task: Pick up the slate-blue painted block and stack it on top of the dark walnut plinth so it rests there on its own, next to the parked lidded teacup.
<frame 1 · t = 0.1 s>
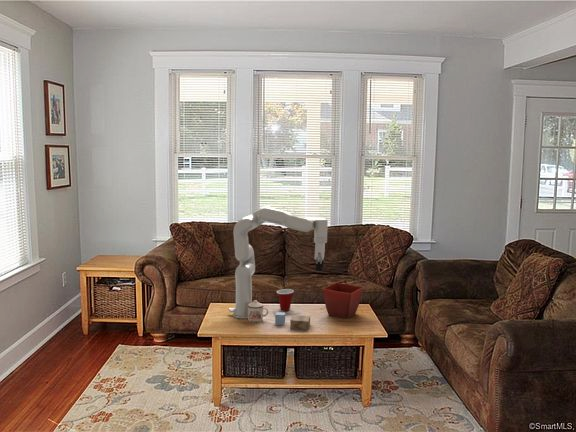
hand: (319, 268, 312), 31 cm above the table, fingers open, 9 cm apart
plastic cup: (284, 309, 337), on the table
plant pot: (341, 315, 329), on the table
teacup with lid: (257, 320, 315), on the table
walnut plinth: (300, 326, 304), on the table
slate block: (280, 323, 309), on the table
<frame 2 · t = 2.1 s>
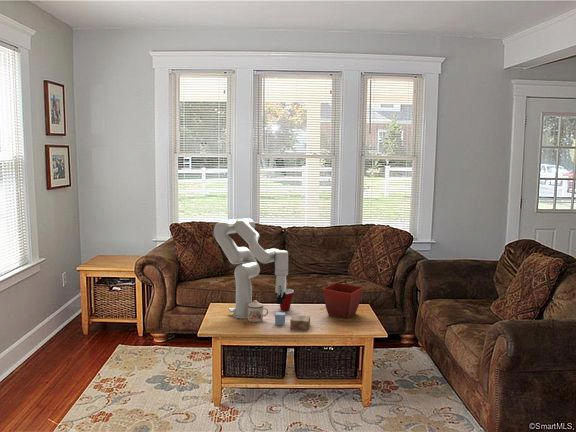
hand: (281, 301, 307), 13 cm above the table, fingers open, 9 cm apart
nothing on the table moved.
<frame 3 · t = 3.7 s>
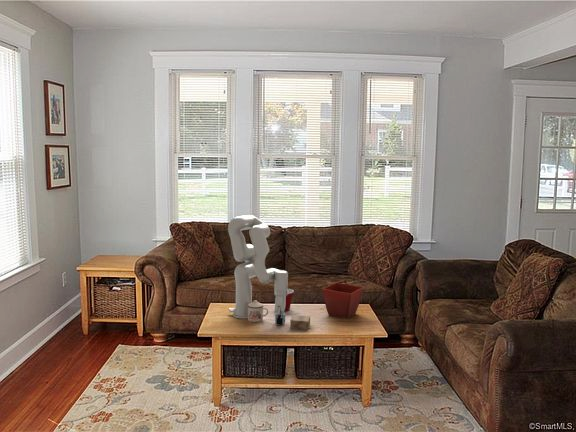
hand: (280, 322, 309), 0 cm above the table, fingers closed on slate block, 5 cm apart
slate block: (280, 323, 309), on the table, touching gripper
everything else where it was.
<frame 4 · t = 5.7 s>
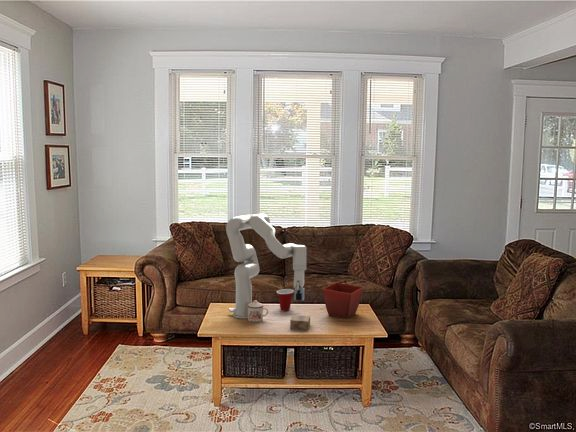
hand: (299, 298, 302), 16 cm above the table, fingers closed on slate block, 5 cm apart
slate block: (299, 299, 302), point 16 cm above the table, touching gripper
everything else where it was.
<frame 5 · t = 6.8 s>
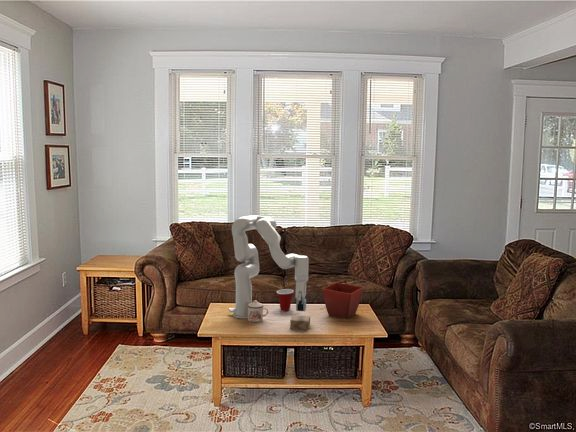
hand: (301, 309, 303), 10 cm above the table, fingers closed on slate block, 5 cm apart
slate block: (301, 309, 303), point 10 cm above the table, touching gripper
everything else where it was.
when the fingers open (7 cm above the table, at t = 7.8 s): slate block drops 1 cm, resting on walnut plinth.
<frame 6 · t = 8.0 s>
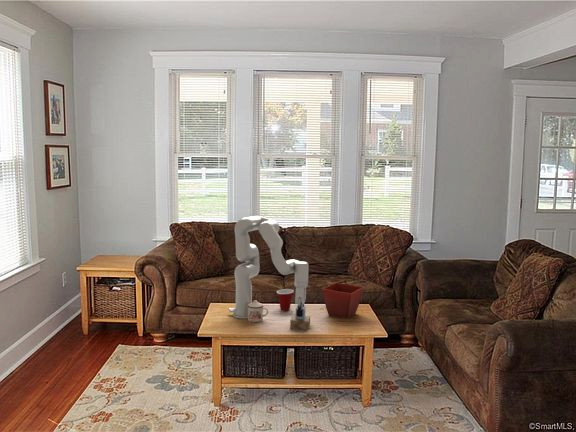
hand: (300, 314, 303), 7 cm above the table, fingers open, 7 cm apart
slate block: (300, 318, 303), point 5 cm above the table, touching walnut plinth
everything else where it was.
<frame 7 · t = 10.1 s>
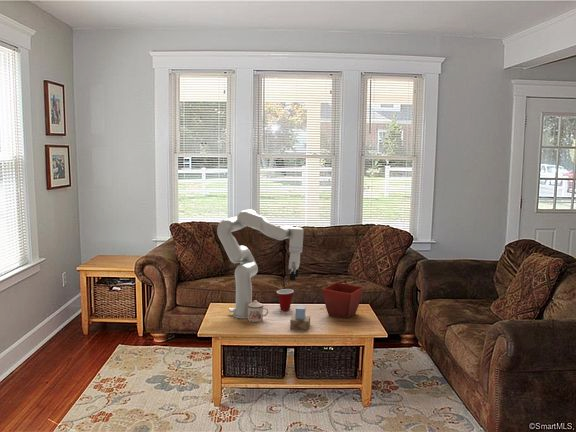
hand: (293, 278, 308), 26 cm above the table, fingers open, 9 cm apart
nothing on the table moved.
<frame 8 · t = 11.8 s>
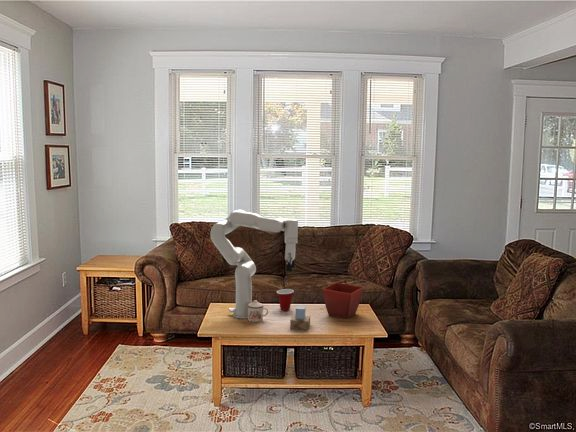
hand: (290, 269, 312), 30 cm above the table, fingers open, 9 cm apart
nothing on the table moved.
at the end: slate block inside the target area on the walnut plinth (0.1 cm from its centre), point 5.0 cm above the walnut plinth's base; slate block tilted 0°; the gripper is holding nothing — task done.
